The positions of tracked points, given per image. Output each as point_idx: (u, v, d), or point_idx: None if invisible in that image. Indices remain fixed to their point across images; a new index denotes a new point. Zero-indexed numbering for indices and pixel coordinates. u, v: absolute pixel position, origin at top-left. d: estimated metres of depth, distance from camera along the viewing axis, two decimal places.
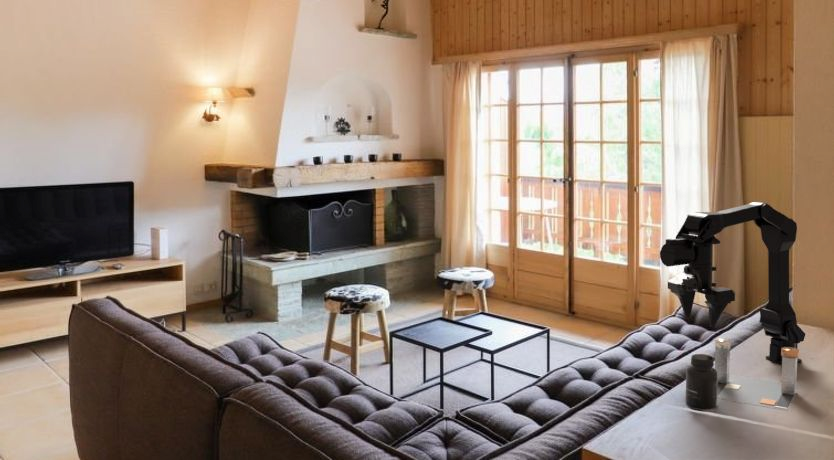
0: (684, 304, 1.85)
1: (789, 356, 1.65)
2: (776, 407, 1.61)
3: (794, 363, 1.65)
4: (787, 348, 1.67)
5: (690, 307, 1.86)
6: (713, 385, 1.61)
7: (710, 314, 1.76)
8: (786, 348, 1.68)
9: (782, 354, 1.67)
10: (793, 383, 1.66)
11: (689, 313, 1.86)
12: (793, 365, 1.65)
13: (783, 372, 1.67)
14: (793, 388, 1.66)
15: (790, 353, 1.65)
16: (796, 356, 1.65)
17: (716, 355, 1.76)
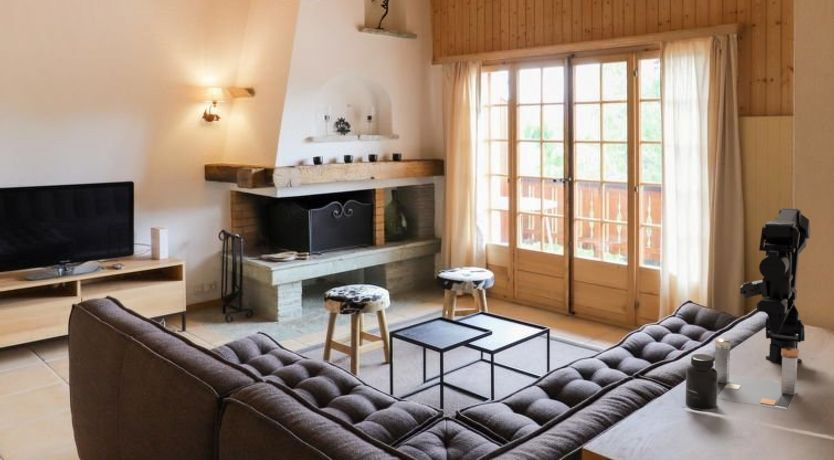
0: None
1: (789, 356, 1.65)
2: (776, 407, 1.61)
3: (794, 363, 1.65)
4: (787, 348, 1.67)
5: None
6: (713, 385, 1.61)
7: (769, 321, 1.77)
8: (786, 348, 1.68)
9: (782, 354, 1.67)
10: (793, 383, 1.66)
11: None
12: (793, 365, 1.65)
13: (783, 372, 1.67)
14: (793, 388, 1.66)
15: (790, 353, 1.65)
16: (796, 356, 1.65)
17: (716, 355, 1.76)
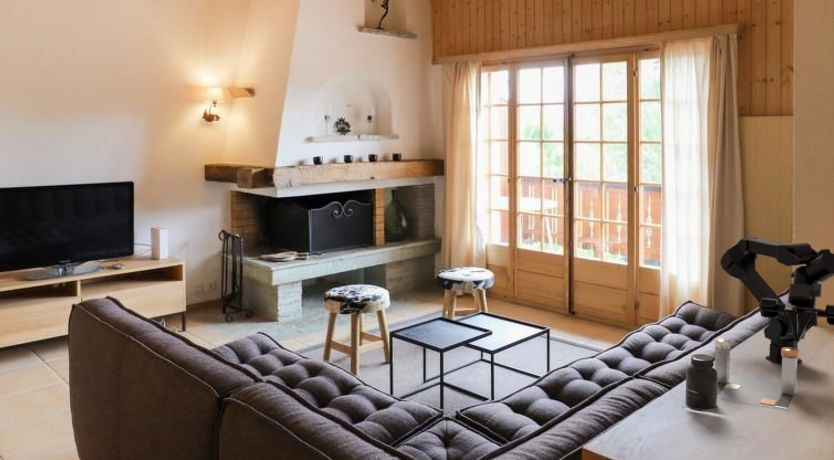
0: (797, 326, 1.74)
1: (789, 356, 1.65)
2: (776, 407, 1.61)
3: (794, 363, 1.65)
4: (787, 348, 1.67)
5: None
6: (713, 385, 1.61)
7: (802, 327, 1.74)
8: (786, 348, 1.68)
9: (782, 354, 1.67)
10: (793, 383, 1.66)
11: None
12: (793, 365, 1.65)
13: (783, 372, 1.67)
14: (793, 388, 1.66)
15: (790, 353, 1.65)
16: (796, 356, 1.65)
17: (716, 355, 1.76)
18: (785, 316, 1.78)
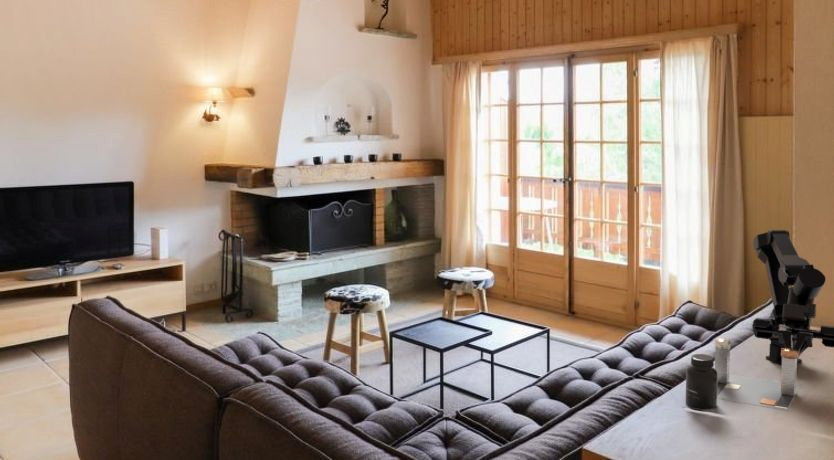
0: (791, 347, 1.69)
1: (789, 357, 1.65)
2: (776, 407, 1.61)
3: (794, 364, 1.65)
4: (787, 348, 1.67)
5: None
6: (713, 385, 1.61)
7: None
8: (786, 348, 1.67)
9: (782, 355, 1.66)
10: (793, 384, 1.66)
11: None
12: (793, 366, 1.65)
13: (783, 373, 1.67)
14: (793, 389, 1.66)
15: (790, 354, 1.65)
16: (796, 357, 1.65)
17: (716, 355, 1.76)
18: (779, 337, 1.73)
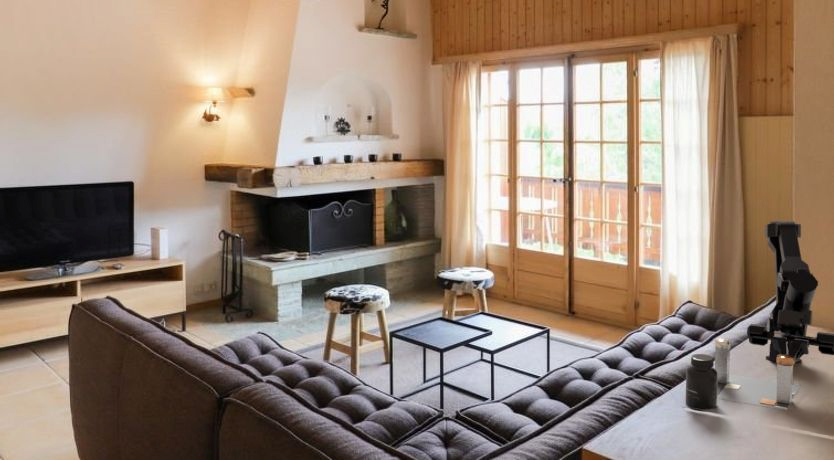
0: None
1: (784, 364, 1.60)
2: (776, 407, 1.61)
3: (790, 371, 1.60)
4: (782, 355, 1.63)
5: None
6: (713, 385, 1.61)
7: None
8: (781, 355, 1.63)
9: (777, 361, 1.62)
10: (789, 391, 1.61)
11: None
12: (789, 373, 1.61)
13: (778, 380, 1.62)
14: (789, 396, 1.61)
15: (786, 361, 1.60)
16: (792, 364, 1.60)
17: (716, 355, 1.76)
18: (774, 344, 1.69)
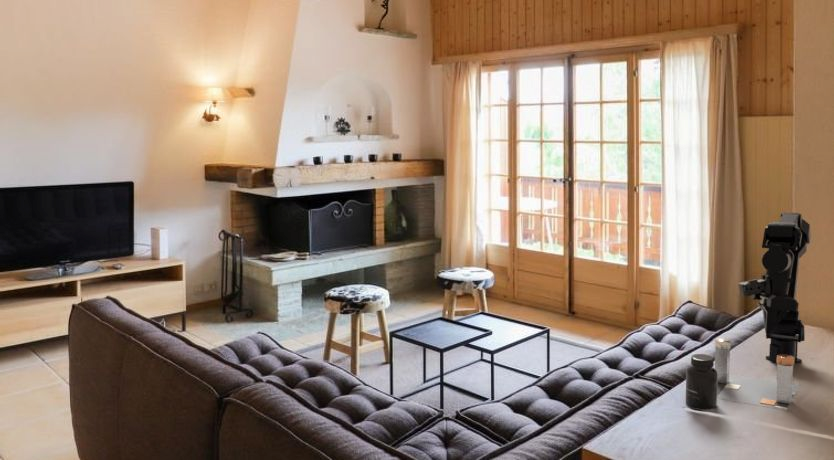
0: (766, 318, 1.79)
1: (784, 364, 1.60)
2: (776, 407, 1.61)
3: (790, 371, 1.60)
4: (782, 355, 1.63)
5: None
6: (713, 385, 1.61)
7: (766, 319, 1.78)
8: (781, 355, 1.63)
9: (777, 361, 1.62)
10: (789, 391, 1.61)
11: None
12: (789, 373, 1.61)
13: (778, 380, 1.62)
14: (789, 396, 1.61)
15: (786, 361, 1.60)
16: (792, 364, 1.60)
17: (716, 355, 1.76)
18: None
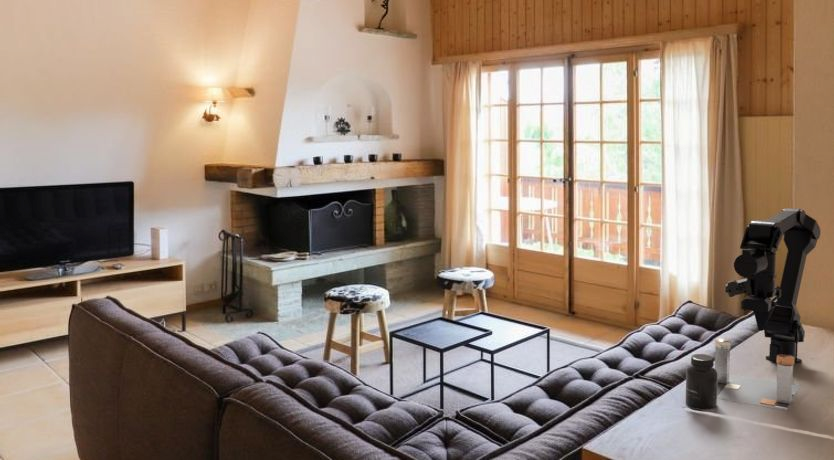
0: None
1: (784, 364, 1.60)
2: (776, 407, 1.61)
3: (790, 371, 1.60)
4: (782, 355, 1.63)
5: None
6: (713, 385, 1.61)
7: None
8: (781, 355, 1.63)
9: (777, 361, 1.62)
10: (789, 391, 1.61)
11: None
12: (789, 373, 1.61)
13: (778, 380, 1.62)
14: (789, 396, 1.61)
15: (786, 361, 1.60)
16: (792, 364, 1.60)
17: (716, 355, 1.76)
18: None
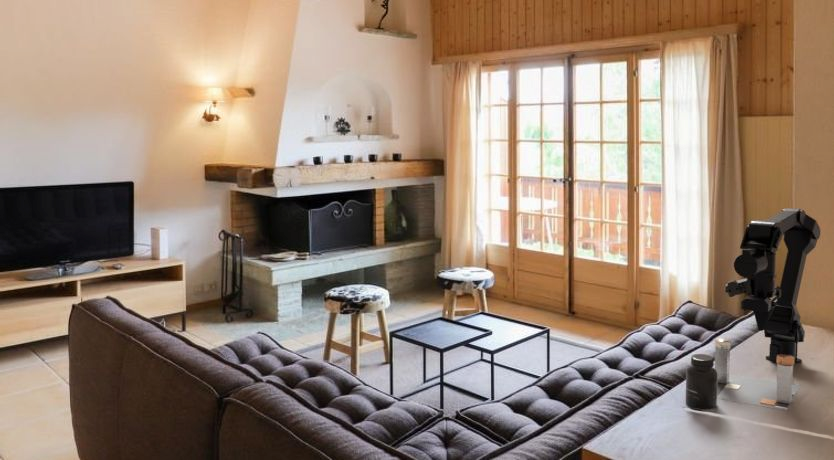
0: None
1: (784, 364, 1.60)
2: (776, 407, 1.61)
3: (790, 371, 1.60)
4: (782, 355, 1.63)
5: None
6: (713, 385, 1.61)
7: None
8: (781, 355, 1.63)
9: (777, 361, 1.62)
10: (789, 391, 1.61)
11: None
12: (789, 373, 1.61)
13: (778, 380, 1.62)
14: (789, 396, 1.61)
15: (786, 361, 1.60)
16: (792, 364, 1.60)
17: (716, 355, 1.76)
18: None
